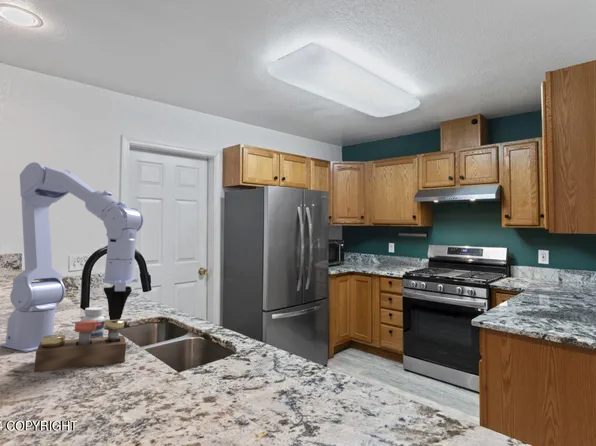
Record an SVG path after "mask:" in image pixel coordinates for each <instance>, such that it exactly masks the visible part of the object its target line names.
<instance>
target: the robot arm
mask: <svg viewBox="0 0 596 446" xmlns="http://www.w3.org/2000/svg"><path fill="white" fill-rule="evenodd" d="M19 185H20V186H19V187H20V197H21V215H22V235H23V238H22V239H23V253H24V256H23V257H24V258H23V259H24V270H23V271H22V272H20V273H19V274H18V275H17V276H15V277H14V278H13V279H12V288H11V292H10V295H9V296H10V297H9V298H10V302H11V304H12V307H14V308H15V309H13V310H14V311H12V312H11V314H10V315H9V317H8V320H7V328H6V336H5V337H6V338H5V342H4V343H0V346H1V347H4V348H8V349H12V350H15V351H21V352H25V353H30V352H33V351H37V349H38V347H39V345H40V343H41V342H42V337H44V336H48V335H54V325H55V316H56V309H57V308H59V304H60V303H62V302H63V300H64V298H65V297H66V286H65V284H64V282H63V277H62V273H60V271H58V270H57V269H55V268H54V266H53V259H52V242H51V224H50V212H49V211H50V207H51V205H52V204H54V203H57V202H58V201H60V200H61V199H63V198H64V197H65V196H67V195H68V194H69V193H70V194H71V195H73V196H74V197H76V198H77V199H80V200H81V201H82V202H84V203H85V206H84V207H85V208H86V210H87V211H88V212H90V213H91V214H92V215H94V216H95V217H97V218H98V219H100V220H101V221H103V225H104V227H105V229H106V235H105V236H106V238H107V247H106V248H107V249H106V258H105V259H106V260H105V269H104V278H103V280H102V282H103V283H104V284H108V285H112V286H111V287H108V286H107V287H103V292H104V294H105V296H106V299H107V307H108V308H107V310H108V317H109V320H120V319H122V316H123V313H124V309H125V305H126V304H127V303H126V302H127V300H128V298H129V296H130V295H131V293H132V291H133V290H132V286H128V285H129V284H132V283H137V282H138V281H139V278H137V277H134V265H135V254H136V244H137V241H136V240H137V232H138V231H140V230H141V228H142V226H143V223H144V217H143V214H142V213H141V212H140V211H139V209H138V208H132V207H131V208H129V207H127V206H126V205H127V204H126V202H124V201H119V200H118V199H116V198H115V197H114V196H112V195H113V193H112V192H110V191H108V190H95V189H93V188H91V187H90V186H89V185H88V184H87V183H86V182H84V181H83V180H82V179H80V178H79V177H78V175H77V174H75V173H73V172H71V171H69V170H66V169H64V170H63V169H60V168H56V167H52V166H49V165H48V166H47V165H45V164H41V163H39V162H34V161H33V162H29V163H28V164H27V165H26V166H25V167H24V168H23V169H22V171H21V172H20V174H19Z"/></svg>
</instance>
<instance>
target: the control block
mask: <svg viewBox="0 0 596 446" xmlns="http://www.w3.org/2000/svg"><path fill="white" fill-rule="evenodd" d="M107 339H108V336H103V337H101V338H90V344H87V345H78V340H79V338H78V339H65V344H64V345H62V346H59V347H51V348H46V347H42V346H41V344H42V342H41V343H40V345H39V347H38V349H37V350H35V358H34V367H33V373H39V372H49V371H50V372H51V371H58V370H66V369H75V368H84V367H85V368H86V367H92V366H93V367H95V366H102V365H112V364H120V363H121V364H122V363H125V360H126V349H127V342H126V339H125V336H124V335H119V338H118V342H111V343H107Z"/></svg>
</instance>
